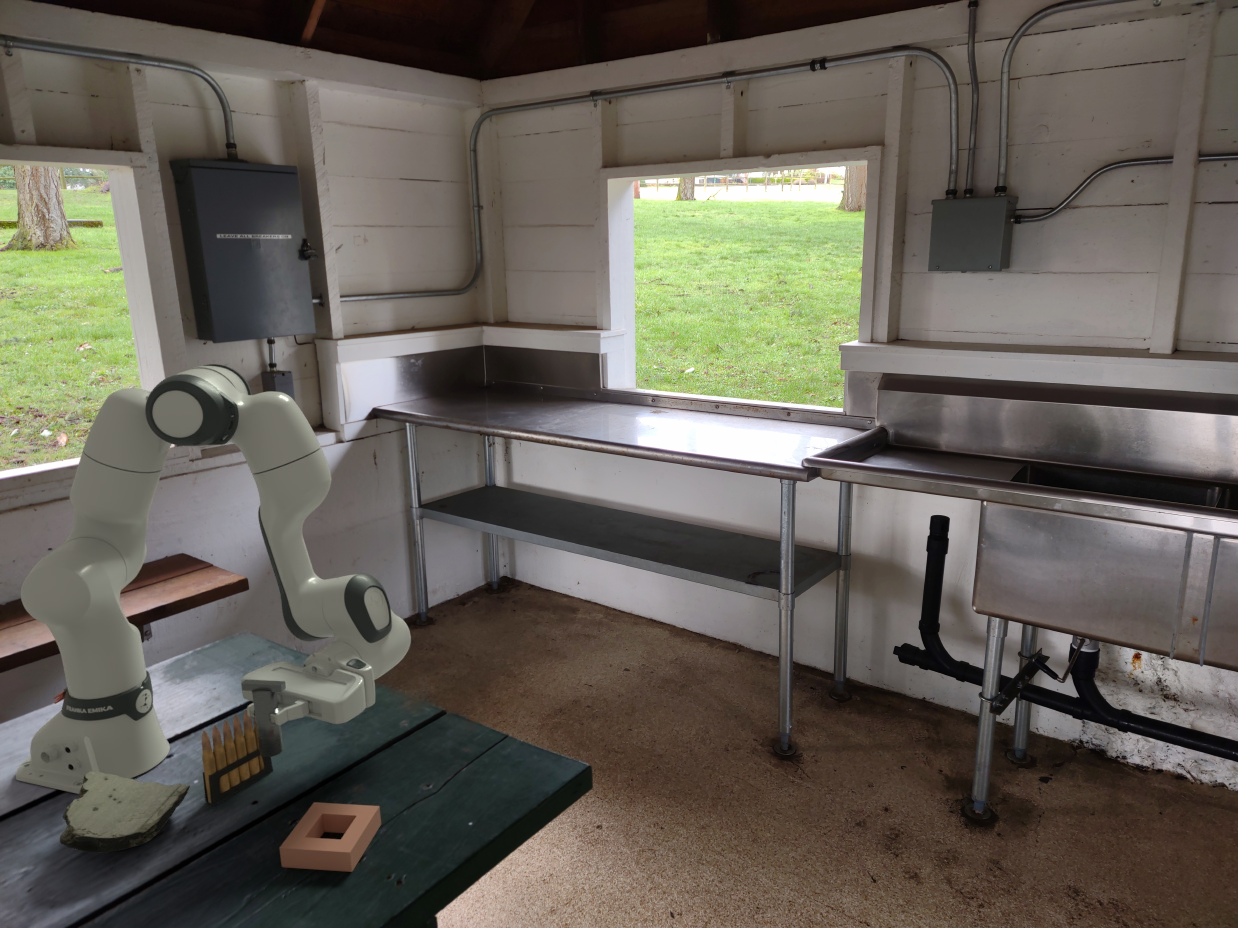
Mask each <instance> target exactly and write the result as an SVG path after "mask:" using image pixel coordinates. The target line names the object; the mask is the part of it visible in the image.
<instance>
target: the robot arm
mask: <svg viewBox="0 0 1238 928" xmlns="http://www.w3.org/2000/svg"><path fill="white" fill-rule="evenodd" d="M229 442H230V443H233V444H234V445H235V446H236V447H237V448H238V449H239V450H240V451H241V453H242V455H243V458H244V459H245V461H246V463H247V466H248V468H249V470H250V473H251V475H252V477H253V479H254V482H255V485H256V489H257V492H258V496H259V507H258V511H257V514H258V515H257V518H258V522H259V523H258V524H259V528H260V531H261V536H262V539H263V543H264V546H265V550H266V552H267V555H268V557H269V562H270V565H271V567H272V570H273V575H274V577H275V580H276V583H277V587H278V590H279V594H280V600H281V601H280V602H281V610H282V611H281V612H282V617H283V621H284V624H285V626H286V627H287V629H288V631H289V632H290V633H291V634H292V635H293V636H294V638H295V637H296V638H297V639H298V640H300V641H302V642H303V641H304V642H308V643H309V642H317V641H319V640H324V639H327V638H331V637H333V638H334V639H333V641H332V642H331V643H329V644H327V645H326V646H324V647H322V648H320V649H319V650H317V651H315V652H313V653H311V654H310V655H309V656H307V658H306V659H305V661H304V663H303V665H300V664H295V663H292V662H287V661H282V660H281V661H275V662H271V663H269V664H266V665H264V666H261V667H259V668H257V669H255V670H253V671H250V672H248V673H246V674H244V675H243V676H242V679H241V680H240V685H241V683H242V682H244V681H245V680H246V679H247V680H268V681H285V685H286V689H285V690H284V691H283V692H277V699H278V709H276V710H275V711H273V712H271V714H270V718H271V723H273V724H277V725H283V724H285V723H286V722H289V721H295V720H297V719H302V718H304V717H308V718H312V719H315V720H319V721H323V722H326V723H330V724H333V725H341V724H344V723H348V722H349V721H351V720H352V719H354V718H355V717H357V716H358V715H360V714H361V713H363V712H364V711H365V710H366V709H368V708H370V707H372V706H374V704H375V703H376V684H375V680H377V679H379V678H380V677H382V676H383V675H385V674H386V673H388V672H389V671H390V670H392V669H394V667H395V666H397V665H398V664H399V663H400V662H401V661H402V660H403V659H404V658H405V656H406V655H407V653H408V651H409V649H410V648H411V642H412V636H411V631H410V628H409V626H408V624H407V623H406V622H405V620H404V619H403V618H401V617H400V616H399V615H397V614H395V612H394V611H393V610H392V608H391V605H390V602H389V601H390V600H389V597H388V595H387V592H386V590H385V588H384V586H383V584H382V583H381V582H380V580H378V579H377V578H376V577H374V576H373V575H371V574H369V573H363V572H362V573H355V574H354V573H353V574H348V575H344V576H339V577H333V578H332V577H331V578H327V579H322V578H320V576H318V575H317V573H315V571H314V568H313V564H312V562H311V558H310V556H309V552H308V549H307V545H306V543H305V539H304V535H303V526H304V524H305V521H306V519H307V518H308V517H309V515H311V513H313V512H314V511H315V510H316V509H317V508H318V507H320V506H321V505H322V503H323V502H324V500H326V497H327V496H328V493H329V492H330V489H331V485H332V474H331V469H330V464H329V462H328V460H327V457H326V456H325V453H324V450H323V449H322V447H321V445H320V442H319V439H318V437H317V436H316V434H315V431H314V430H313V428H312V426H311V424H310V423H309V421H308V419H307V418H306V416H305V414H304V413H303V411H302V410H301V408H300V407H299V405H298V404H297V402H296V401H295V399H293V397H291V396H290V395H288V394H286V393H285V392H282V391H270V390H269V391H264V392H259V393H256V394H253V392H252V389H251V387H250V384H249V381H247V379H246V378H245V376H244V375H242V374H241V373H240V372H239V371H238V370H236V369H234V368H232V367H230V366H226V365H223V364H219V363H217V364H215V363H212V364H211V363H209V364H206V365H205V364H204V365H201V366H200V365H199V366H194V367H191V368H185V369H184V370H182V371H180V372H178V373H175V374H174V375H171V376H169V377H166V378H164V379H163V380H161V381H160V382H159V383H158V384H157V385H155V386H154V387H153V389H152V390H151V391H149V390H146V389H143V388H123V389H118V390H115V391H113V392H111V394H109V395H108V396H107V397H106V399H105V400H104V402H103V403H102V405H101V406H100V409H99V411H98V412H97V414H96V416H95V418H94V420H93V423H92V425H91V427H90V430H89V432H88V434H87V437H86V440H85V443H84V446H83V450H82V453H81V456H80V459H79V462H78V465H77V468H76V472H75V475H74V478H73V482H72V486H71V488H70V491H69V501H70V504H71V505H72V506H73V517H72V518H73V519H72V527H71V530H70V533H69V534H68V536H67V538H66V540H65V541H63V543H62V544H61V545H60V546H59V547H57V548H56V549H54V550H52V551H51V552H50V553H48V554H46V555H45V556H43V557H42V558H41V559H39V560H38V561H37V563H36V564H34V566H33V567H32V569H31V570H30V572H29V573H28V574H27V576H26V577H25V579H24V581H23V583H22V585H21V589H20V600H21V602H22V605H23V608H24V609H25V611H26V612H27V613H28V614H29V615H30V616H31V617H32V618H33V619H34V620H36V621H37V622H39V623H42V624H45V625H46V627H47V628H48V630H49V631H50V633H51V635H52V636H53V639H54V640H55V643H56V645H57V646H58V647H57V648H58V650H59V653H60V657H61V661H62V665H63V671H64V675H65V681H66V682H65V683H66V686H67V687H66V688H64V689H63V691H62V692H60V693H59V694H57V695H55V696H54V697H53V698H52V699H53V700H55V701H54V702H53V703H54V704H55V705H56V704H58V703H60V702H62V701H63V703H62V706H61V709H60V710H59V711H58V713H56V714H55V715H54V716H53V717H52V718H50V720H48V721H47V722H46V723H45V724H43V725H42V726H41V728H39V729H38V730H37V731H36V732H35V733H34V735H33V737H32V739H31V741H30V747H29V751H30V755H29V756H28V757H27V758H26V759H25V760H24V761H23V762H22V763H21V764H20V765H19V766H18V768H17V770H16V771H15V780H17V781H19V782H24V783H28V784H32V785H37V786H41V787H45V788H51V789H55V790H60V791H64V792H68V793H73V794H77V795H80V794H79V792H80V790H81V788H82V785H83V779H84V775H85V774H86V773H88V772H94V771H95V772H102V773H104V774H112V775H117V776H119V777H122V778H130V779H133V778H135V777H137V776H140V775H142V774H144V773H146V772H148V771H149V770H152V769H153V768H154V767H156V766H158V765H159V764H160V763H161V762H162V761H163V760H164V759H165V758H166V757H167V756H168V754H169V752H170V750H171V745H170V743H169V741H168V739H167V737H166V735H165V733H164V732H163V729H162V726H161V724H160V721H159V719H158V715H157V712H156V710H155V709H156V708H155V706H154V690H153V685H152V678H151V675H150V672H149V671H148V670H147V668H146V661H145V656H144V648H143V642H142V638H141V637H142V636H141V632H140V630H139V628H138V627H137V626H136V625H135V624H132V623H130V622H129V619H128V617H126V614H125V612H124V610H123V607H122V605H121V592H122V590H123V589H124V588H126V587H127V586H128V585H129V584H130V583H131V582H133V580H134V579H135V578H136V577H137V576H138V574H139V573H140V571H141V570H142V567H143V565H144V563H145V561H146V558H147V553H148V547H147V544H146V542H147V541H146V540H147V532H148V521H149V517H150V512H151V507H152V504H153V501H154V497H155V495H156V492H157V488H158V485H159V482H160V479H161V475H162V472H163V469H164V466H165V463H166V460H167V456H168V454H169V451H170V448H171V446H172V445H175V446H181V447H201V446H223V445H225V444H228V443H229ZM240 687H241V688H242V685H241V686H240ZM241 693H242V698H243V699H244V700H246V701H250V702H252V703H250V704H249V705H247V707H246V710H247V715H248V716H249V717H251V719H252V718H253V719H254V718H255V711H254V703H253V695H252V691H244V690H242V689H241Z"/></svg>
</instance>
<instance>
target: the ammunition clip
mask: <svg viewBox="0 0 1238 928" xmlns="http://www.w3.org/2000/svg"><path fill="white" fill-rule="evenodd" d="M253 725H254V726H253ZM230 726H231V725H230V723H229V722H228V721H227V719H225V720H224V722H223V726H222V735H223V738H222V736H221V731H220V730H219V728H218V726H217V725H213V729H212V744H211V740H210V736H209V734H208V732H207V731H206V730H203V732H202V734H201V747H202V749H201V750H202V756H201V757H202V766H203V772H202V780H203V788H204V789H203V790H204V798H205V799H204V800H205V803H207V804H208V805H210V806H213V807H214V806H216V805H218V804H220V803H221V802H223V801H225V800H226V799H228V798H230V797H232V796H234V795H236V794H237V793H238V792H240V791H242V790H244V789H245V788H247V787H248V786H251V785H252V784H255V783H256V782H257V781H260V780H261V779H263V778H264V777H266V776H268V775H270V774H271V773H273V772H274V766H273V761H272V757H262V756H261V755H260V752H259V744H258V736H257V728H256V719H255V718H253V722H252V717H249V716H248V715H247V709H245V710H244V713H243V727H242V724H241V719H240V718H239V716H238V715H237V714H236V715H234V717H233V722H232V727H233V734H232V729H231V727H230ZM242 728H243V729H242ZM243 730H244V731H243ZM222 739H223V741H222ZM212 745H213V747H212Z"/></svg>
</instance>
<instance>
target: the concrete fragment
mask: <svg viewBox="0 0 1238 928" xmlns="http://www.w3.org/2000/svg"><path fill="white" fill-rule="evenodd" d="M190 787H191V785H190V784H183V783H177V784H172V785H166V784H162V783H159V782H152V781H145V782H141V781H138V780H136V779H133V778H122V777H119V776H117V775H112V774H104V773H102V772H95V771H94V772H88V773H86V774H85V775H84V779H83V785H82V788H81V790H80V792H79V794H78V795H79V798H74V799H73V801H71V803H70V804H69V805H68V806H66V808H65V811H64V812H63V815H62V819H63V820H64V821H65V823H66V827H65V829H64V831H63V832H61V834H60V836H59V844H61V845H63V846H64V847H67V848H69V849H72V850H75V851H80V852H85V853H91V854H92V853H93V854H99V853H100V854H101V853H103V854H104V853H113V852H118V851H122V850H128V849H130V848H134V847H138V846H141V845H144V844H146V843H148V842H149V841H151V840H152V839H153V838H154V837H156V836H157V835H158V834H159V833H160V831H161V830H162V829H163V827H164V826H165V825H166V824H167V822H168V821H169V819H170V818H171V817H172V815H173V814H174V813H175V811H176V810H177V808H179V806H180V805H181V803H182V802H183V801H184V799H185V798H186V795H187V794H188V791H189V790H190Z"/></svg>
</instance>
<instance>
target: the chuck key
mask: <svg viewBox="0 0 1238 928" xmlns="http://www.w3.org/2000/svg"><path fill="white" fill-rule="evenodd" d="M240 685H242V687H241V691H242V690H244V691H252V695H253V701H252V703H254V711H255V719H256V728H257V736H258V744H259V752H260V755H261V756H262V757H271V758H272V757H275V756H278V755H280V754H281V753H283V751H284V743H283V735H282V726H281V725H277V724H273V723H271V718H270V714H271V712H273V711H275V710H276V709H278V699H277V692H283V691H284V690H285V689H286V685H285V681H268V680H247V679H246V680H245V681H244V682H242V683H241V682H240Z"/></svg>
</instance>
